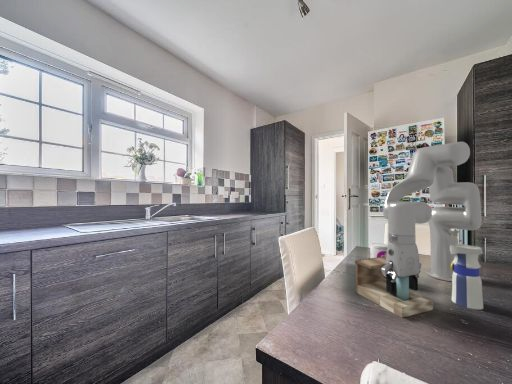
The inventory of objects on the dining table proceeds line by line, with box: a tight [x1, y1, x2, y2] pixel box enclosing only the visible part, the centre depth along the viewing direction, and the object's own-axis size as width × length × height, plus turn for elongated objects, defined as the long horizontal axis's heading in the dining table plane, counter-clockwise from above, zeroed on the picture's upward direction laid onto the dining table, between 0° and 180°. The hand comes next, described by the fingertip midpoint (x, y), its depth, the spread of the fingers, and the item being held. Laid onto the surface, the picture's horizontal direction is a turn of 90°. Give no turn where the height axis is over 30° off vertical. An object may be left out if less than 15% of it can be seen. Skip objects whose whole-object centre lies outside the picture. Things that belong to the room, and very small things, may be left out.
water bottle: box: [450, 228, 484, 310], centre depth 72 cm, size 8×8×25 cm
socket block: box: [354, 257, 434, 319], centre depth 75 cm, size 14×18×12 cm
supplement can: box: [369, 242, 393, 277], centre depth 93 cm, size 8×8×15 cm
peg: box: [395, 276, 410, 301], centre depth 71 cm, size 4×4×10 cm
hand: (402, 291), depth 71 cm, fingers open, 9 cm apart
